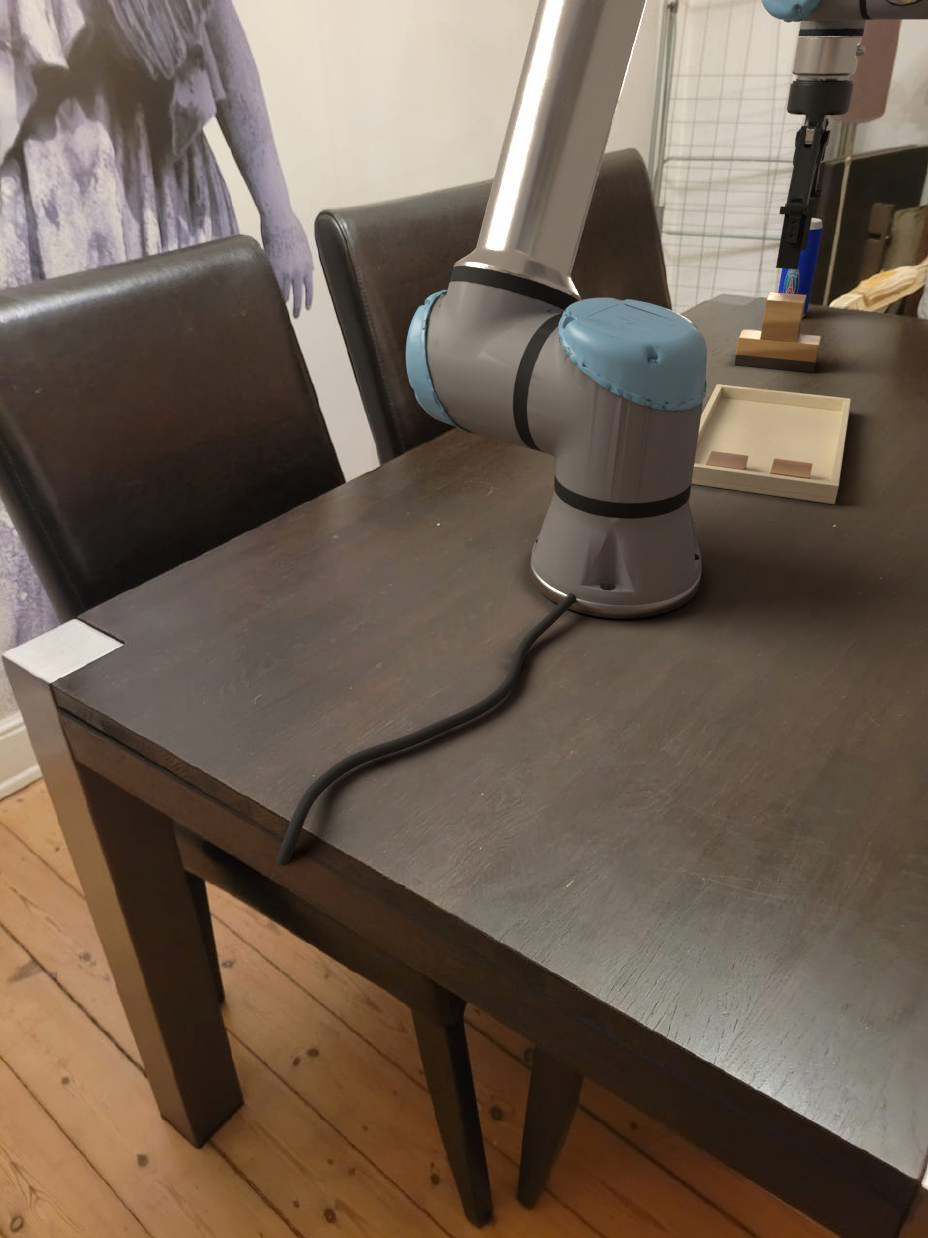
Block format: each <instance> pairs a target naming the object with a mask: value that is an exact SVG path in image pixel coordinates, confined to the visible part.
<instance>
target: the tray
mask: <svg viewBox="0 0 928 1238" xmlns="http://www.w3.org/2000/svg"><path fill="white" fill-rule="evenodd" d="M709 397H710V398H709V399H708V401H707V403H706V404H705V405H706V406H705V407H704V409H703V410H702V413H701V420H700V427H699V434H698V441H697V448H696V455H695V462H694V469H693V476H692V483H691V485H696V486H703V487H711V488H717V489H726V490H732V491H739V492H746V493H751V494H752V493H753V494H759V495H766V496H773V497H781V498H787V499H795V500H802V501H808V502H815V503H822V504H829V505H835V504H836V500H837V495H838V490H839V488H840V487H839V486H840V480H841V472H842V466H843V458H844V451H845V443H846V437H847V432H848V431H847V429H848V425H849V424H848V422H849V416H850V408H851V401H852V399H851V398H850V397H849V398H848V397H847V398H846V397H839V396H830V395H829V396H828V395H822V394H812V393H804V392H803V393H801V392H793V391H784V390H775V389H774V390H773V389H764V388H757V387H756V388H755V387H747V386H737V385H727V384H719V383H718V384H716V385H715V387H714V389H713V391H712V393H711V396H709ZM712 451H716V452H723V453H731V454H739V455H746V456H748V462H747V468H746V470H739V469H731V468H724V467H717V466H709V465H706V463H707V461H708V458H709V456H710V454H711V452H712ZM774 459H783V460H791V461H798V462H806V463H812V464H813V465H812V469H811V474H810V479H805V478H797V477H790V476H783V475H775V474H770V471H771V468H772V465H773V461H774Z"/></svg>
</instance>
